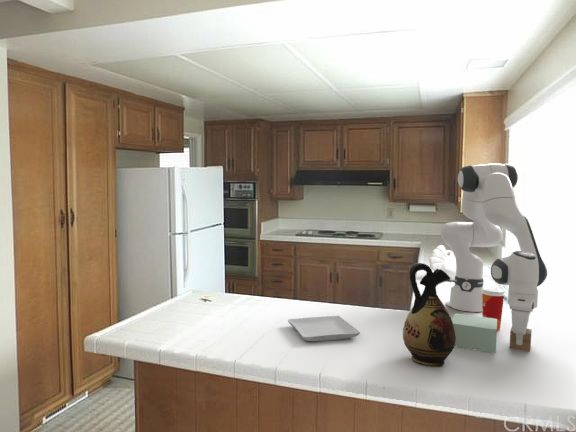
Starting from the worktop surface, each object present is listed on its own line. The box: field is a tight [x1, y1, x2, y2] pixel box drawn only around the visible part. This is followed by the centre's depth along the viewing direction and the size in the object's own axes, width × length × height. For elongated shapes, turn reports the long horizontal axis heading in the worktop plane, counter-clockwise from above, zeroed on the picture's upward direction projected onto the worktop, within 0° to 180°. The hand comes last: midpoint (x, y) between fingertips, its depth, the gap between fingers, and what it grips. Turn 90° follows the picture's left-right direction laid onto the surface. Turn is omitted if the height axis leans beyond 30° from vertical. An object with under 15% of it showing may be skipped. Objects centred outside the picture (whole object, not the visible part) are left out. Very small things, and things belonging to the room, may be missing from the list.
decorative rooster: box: [428, 244, 456, 282], centre depth 265 cm, size 25×16×25 cm, turn 94°
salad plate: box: [287, 315, 361, 342], centre depth 160 cm, size 21×21×3 cm
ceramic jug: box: [402, 262, 456, 367], centre depth 135 cm, size 17×15×30 cm
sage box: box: [452, 313, 498, 354], centre depth 153 cm, size 14×14×8 cm
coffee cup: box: [481, 287, 506, 332], centre depth 170 cm, size 8×8×15 cm
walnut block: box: [509, 327, 533, 352], centre depth 150 cm, size 6×6×6 cm
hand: (520, 340), depth 150 cm, fingers open, 8 cm apart
